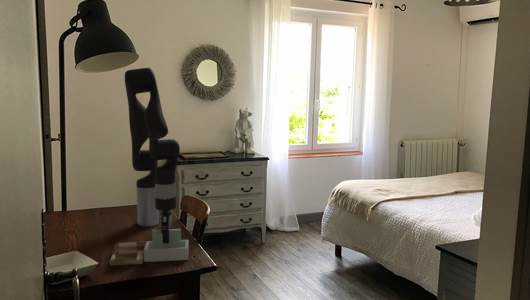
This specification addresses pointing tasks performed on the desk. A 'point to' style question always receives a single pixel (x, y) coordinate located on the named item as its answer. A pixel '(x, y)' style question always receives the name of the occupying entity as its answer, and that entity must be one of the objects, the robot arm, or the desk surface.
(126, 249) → the offcut top
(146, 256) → the bin
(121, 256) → the offcut low
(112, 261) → the rack
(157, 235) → the sheet
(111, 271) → the desk surface
